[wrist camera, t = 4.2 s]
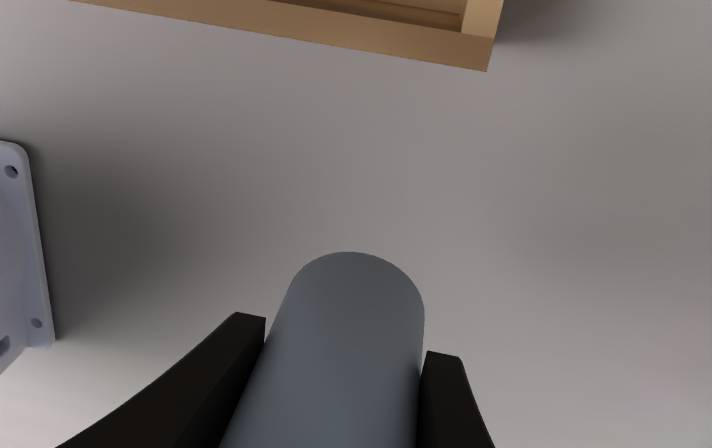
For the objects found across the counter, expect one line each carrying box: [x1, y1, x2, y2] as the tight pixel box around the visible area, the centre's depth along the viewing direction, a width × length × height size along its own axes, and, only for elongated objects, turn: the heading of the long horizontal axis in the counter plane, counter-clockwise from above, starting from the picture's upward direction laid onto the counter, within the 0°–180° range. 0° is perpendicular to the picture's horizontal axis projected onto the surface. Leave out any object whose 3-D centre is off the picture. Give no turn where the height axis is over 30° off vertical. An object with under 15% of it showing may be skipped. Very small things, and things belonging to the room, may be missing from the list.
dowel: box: [218, 252, 425, 448], centre depth 10 cm, size 3×3×8 cm
